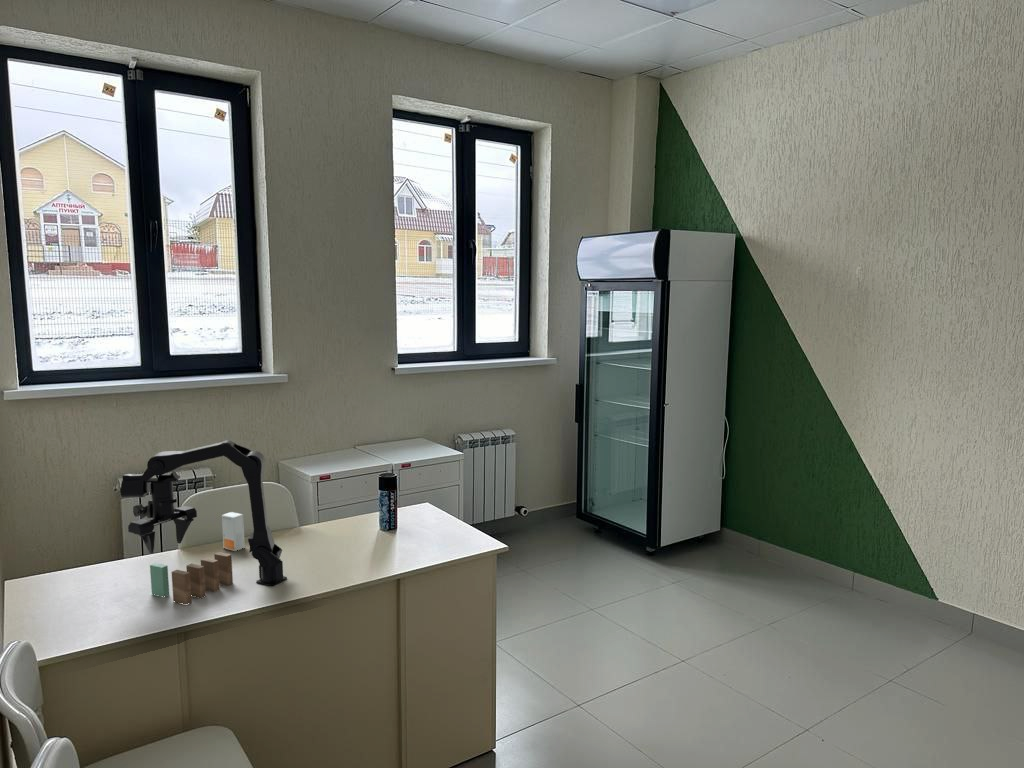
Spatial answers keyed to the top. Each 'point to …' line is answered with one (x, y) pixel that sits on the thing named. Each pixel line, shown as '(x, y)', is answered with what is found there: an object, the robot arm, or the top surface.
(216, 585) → the tile
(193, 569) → the tile
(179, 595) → the brown wooden block
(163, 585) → the tile
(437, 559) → the top surface
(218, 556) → the wooden block
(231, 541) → the skincare box
